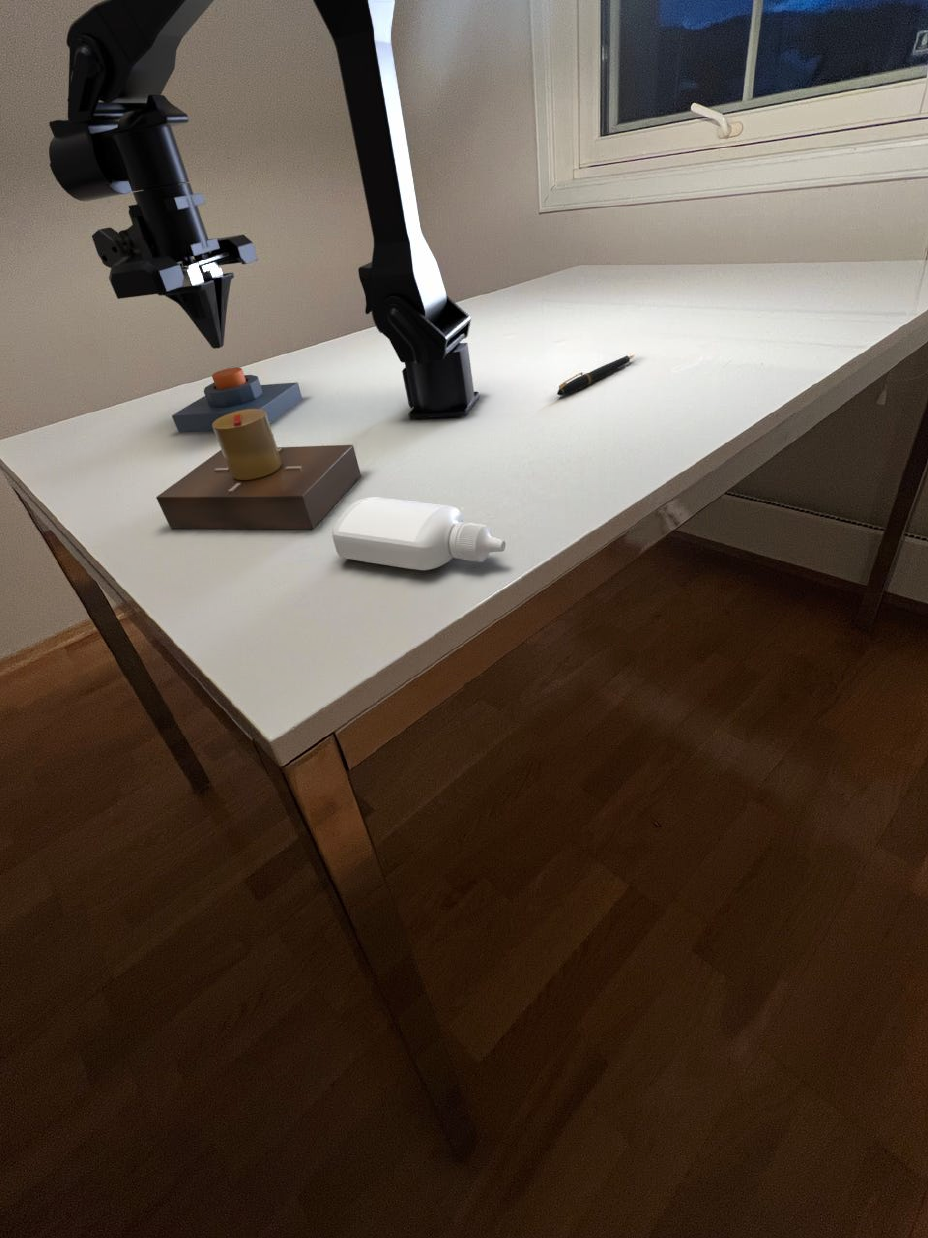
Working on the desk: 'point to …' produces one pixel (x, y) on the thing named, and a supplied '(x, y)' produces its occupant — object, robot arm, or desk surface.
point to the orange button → (229, 378)
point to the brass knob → (247, 444)
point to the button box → (237, 403)
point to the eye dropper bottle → (410, 534)
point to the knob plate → (263, 491)
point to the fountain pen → (591, 376)
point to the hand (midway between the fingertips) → (218, 347)
